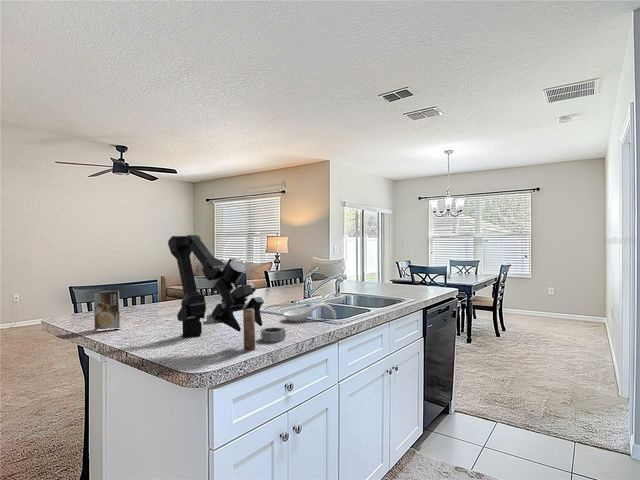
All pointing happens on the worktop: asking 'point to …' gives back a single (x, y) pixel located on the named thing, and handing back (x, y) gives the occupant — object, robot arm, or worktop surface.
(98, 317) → the coffee box
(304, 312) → the spoon rest
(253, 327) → the dowel
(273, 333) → the ring
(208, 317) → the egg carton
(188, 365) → the worktop surface
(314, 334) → the worktop surface
